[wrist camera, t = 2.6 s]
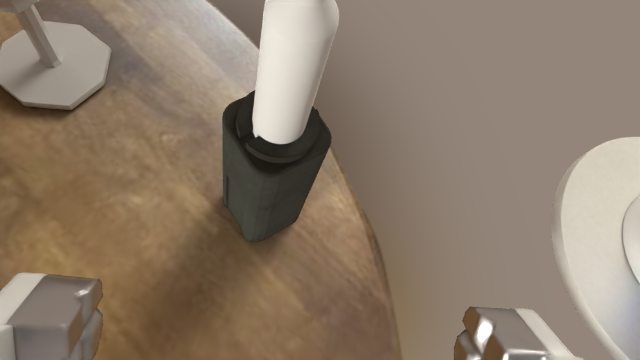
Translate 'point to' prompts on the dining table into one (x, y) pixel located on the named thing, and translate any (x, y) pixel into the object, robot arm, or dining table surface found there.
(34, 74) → the wineglass
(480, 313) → the robot arm
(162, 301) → the dining table surface
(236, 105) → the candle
